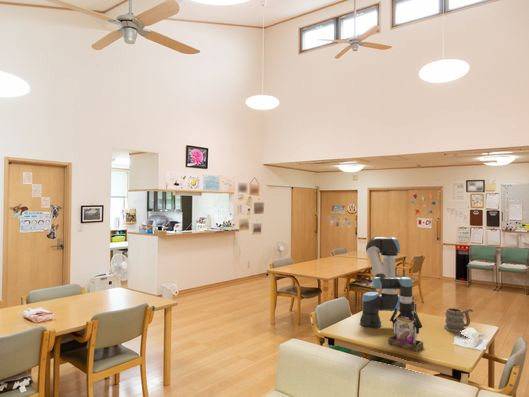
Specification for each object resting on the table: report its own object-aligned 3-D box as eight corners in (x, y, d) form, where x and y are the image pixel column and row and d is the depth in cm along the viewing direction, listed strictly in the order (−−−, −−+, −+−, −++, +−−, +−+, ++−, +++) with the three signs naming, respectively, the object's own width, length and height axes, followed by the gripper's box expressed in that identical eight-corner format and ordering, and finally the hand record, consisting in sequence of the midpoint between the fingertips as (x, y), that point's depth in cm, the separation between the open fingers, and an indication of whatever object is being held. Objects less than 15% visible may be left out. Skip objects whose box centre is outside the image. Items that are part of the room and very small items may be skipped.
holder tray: (388, 343, 244) (388, 338, 244) (395, 339, 251) (395, 334, 251) (416, 351, 231) (416, 346, 231) (423, 347, 238) (423, 341, 238)
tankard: (450, 332, 266) (450, 311, 266) (441, 326, 279) (441, 306, 279) (478, 332, 267) (478, 311, 267) (468, 326, 279) (468, 306, 280)
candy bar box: (395, 343, 243) (395, 317, 243) (398, 340, 246) (398, 315, 247) (413, 347, 235) (413, 320, 236) (416, 345, 239) (416, 319, 239)
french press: (398, 316, 302) (399, 287, 303) (405, 314, 308) (405, 286, 308) (412, 320, 293) (412, 290, 293) (419, 318, 299) (419, 288, 299)
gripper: (384, 299, 248) (384, 332, 247) (422, 307, 230) (422, 342, 230) (390, 297, 253) (389, 329, 253) (428, 305, 235) (427, 339, 235)
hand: (405, 335), depth 241 cm, fingers open, 13 cm apart
